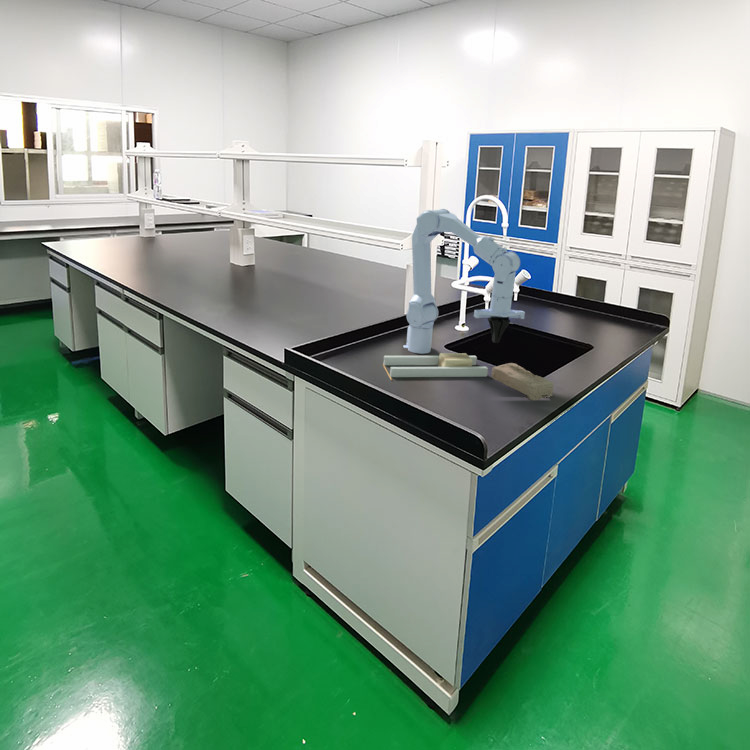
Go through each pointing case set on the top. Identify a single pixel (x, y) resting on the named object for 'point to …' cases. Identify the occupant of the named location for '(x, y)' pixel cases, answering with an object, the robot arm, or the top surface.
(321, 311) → the top surface
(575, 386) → the top surface
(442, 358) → the block
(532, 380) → the brick
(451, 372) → the chute
